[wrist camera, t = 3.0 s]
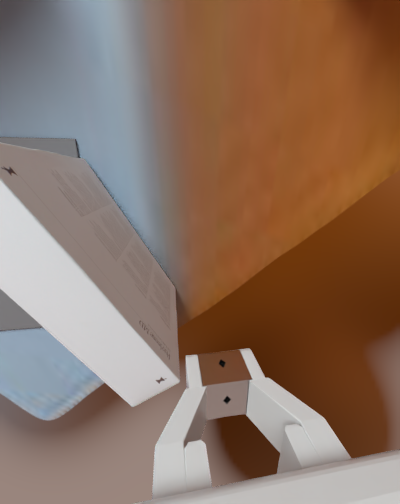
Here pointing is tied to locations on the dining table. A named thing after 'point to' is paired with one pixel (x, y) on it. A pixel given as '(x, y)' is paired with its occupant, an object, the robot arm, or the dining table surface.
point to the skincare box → (86, 272)
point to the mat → (3, 307)
